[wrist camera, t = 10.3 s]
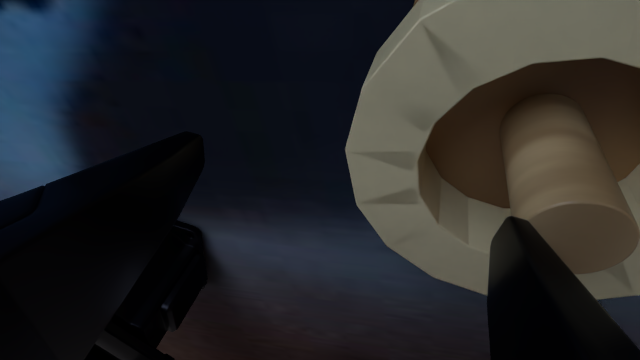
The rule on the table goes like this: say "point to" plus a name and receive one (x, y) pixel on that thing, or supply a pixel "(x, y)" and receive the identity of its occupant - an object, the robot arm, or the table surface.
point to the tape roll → (442, 95)
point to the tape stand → (551, 154)
